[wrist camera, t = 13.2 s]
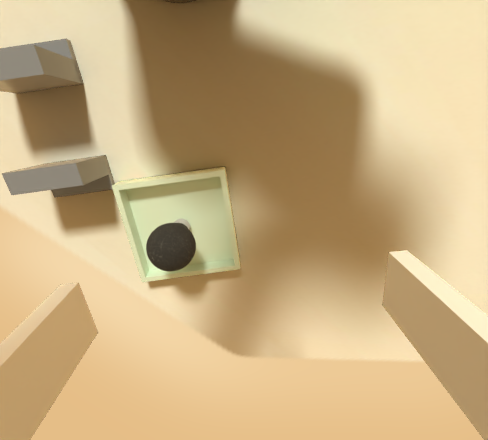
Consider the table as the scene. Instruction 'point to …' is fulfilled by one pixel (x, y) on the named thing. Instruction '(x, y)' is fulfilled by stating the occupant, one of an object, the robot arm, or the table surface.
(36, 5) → the table surface
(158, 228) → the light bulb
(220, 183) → the tray
